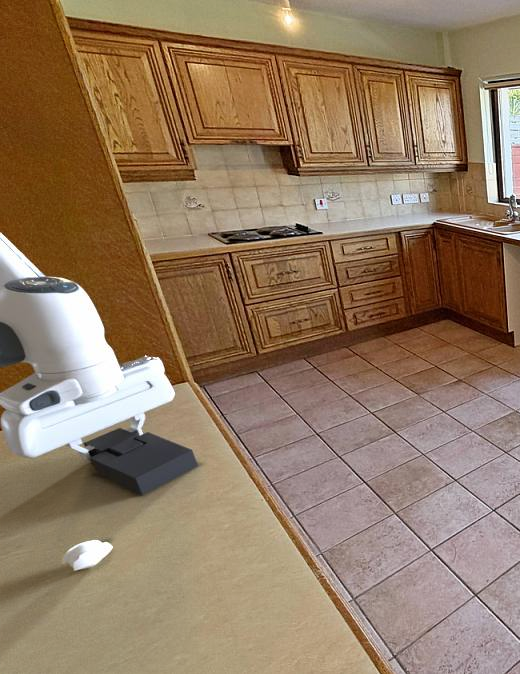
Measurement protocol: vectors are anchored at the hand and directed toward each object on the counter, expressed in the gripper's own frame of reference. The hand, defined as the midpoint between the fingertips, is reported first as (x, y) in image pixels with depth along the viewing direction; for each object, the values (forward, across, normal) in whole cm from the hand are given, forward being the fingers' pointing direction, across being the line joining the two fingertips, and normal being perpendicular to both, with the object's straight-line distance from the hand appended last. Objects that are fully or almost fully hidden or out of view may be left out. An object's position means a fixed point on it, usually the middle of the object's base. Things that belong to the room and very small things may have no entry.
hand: (113, 447), depth 81 cm
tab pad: (+2, 0, +2) cm, 2 cm away
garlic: (+2, +14, +23) cm, 27 cm away
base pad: (+2, 0, +9) cm, 9 cm away
